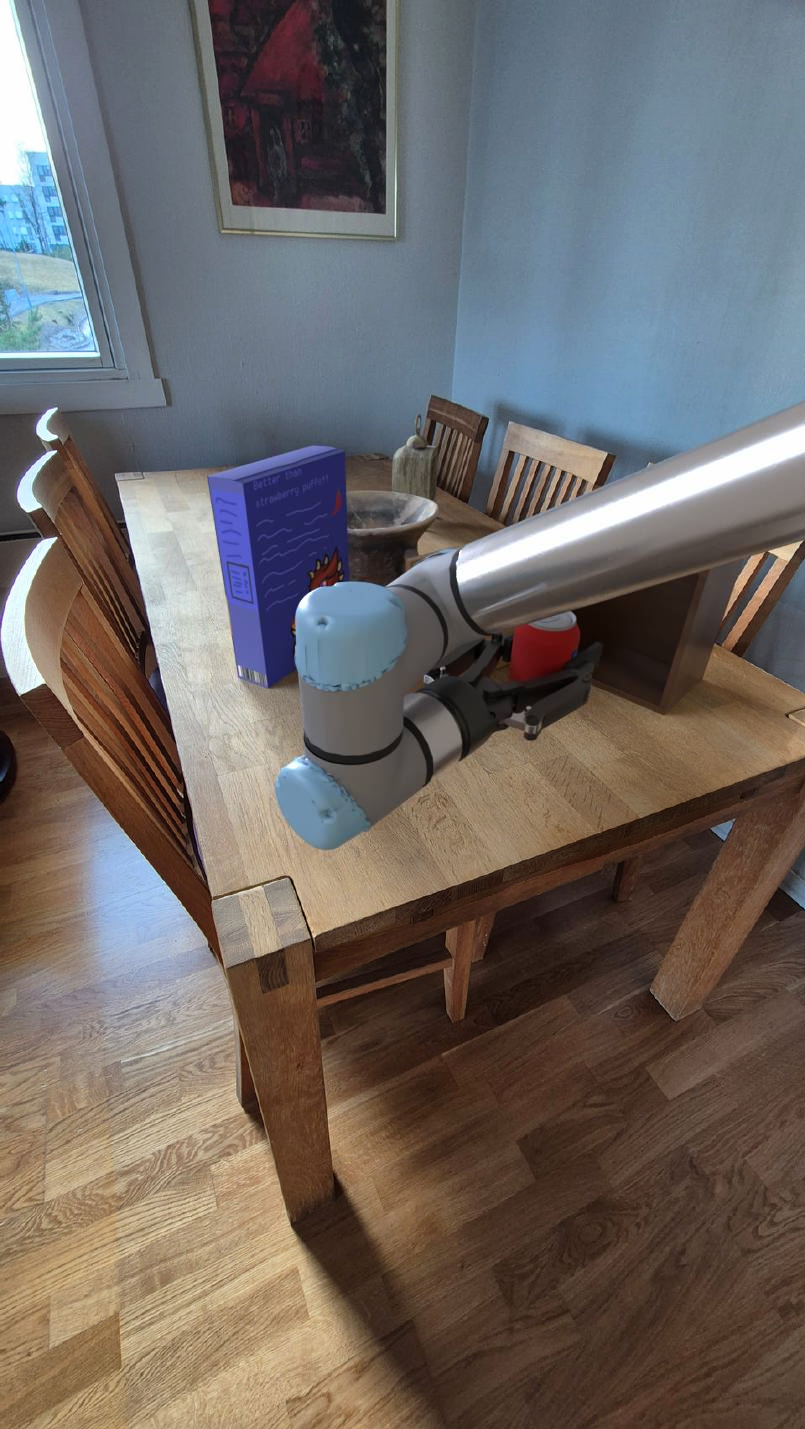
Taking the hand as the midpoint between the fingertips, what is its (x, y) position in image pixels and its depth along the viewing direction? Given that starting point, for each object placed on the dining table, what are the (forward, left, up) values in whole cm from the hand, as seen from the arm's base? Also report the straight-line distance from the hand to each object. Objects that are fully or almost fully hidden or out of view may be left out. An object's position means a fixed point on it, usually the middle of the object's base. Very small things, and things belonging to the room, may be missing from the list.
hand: (567, 642), depth 70 cm
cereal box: (+45, +4, -18) cm, 48 cm away
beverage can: (0, +5, -7) cm, 9 cm away
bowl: (+58, -26, -18) cm, 66 cm away
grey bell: (+77, -60, -18) cm, 99 cm away
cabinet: (+6, -29, -18) cm, 34 cm away
